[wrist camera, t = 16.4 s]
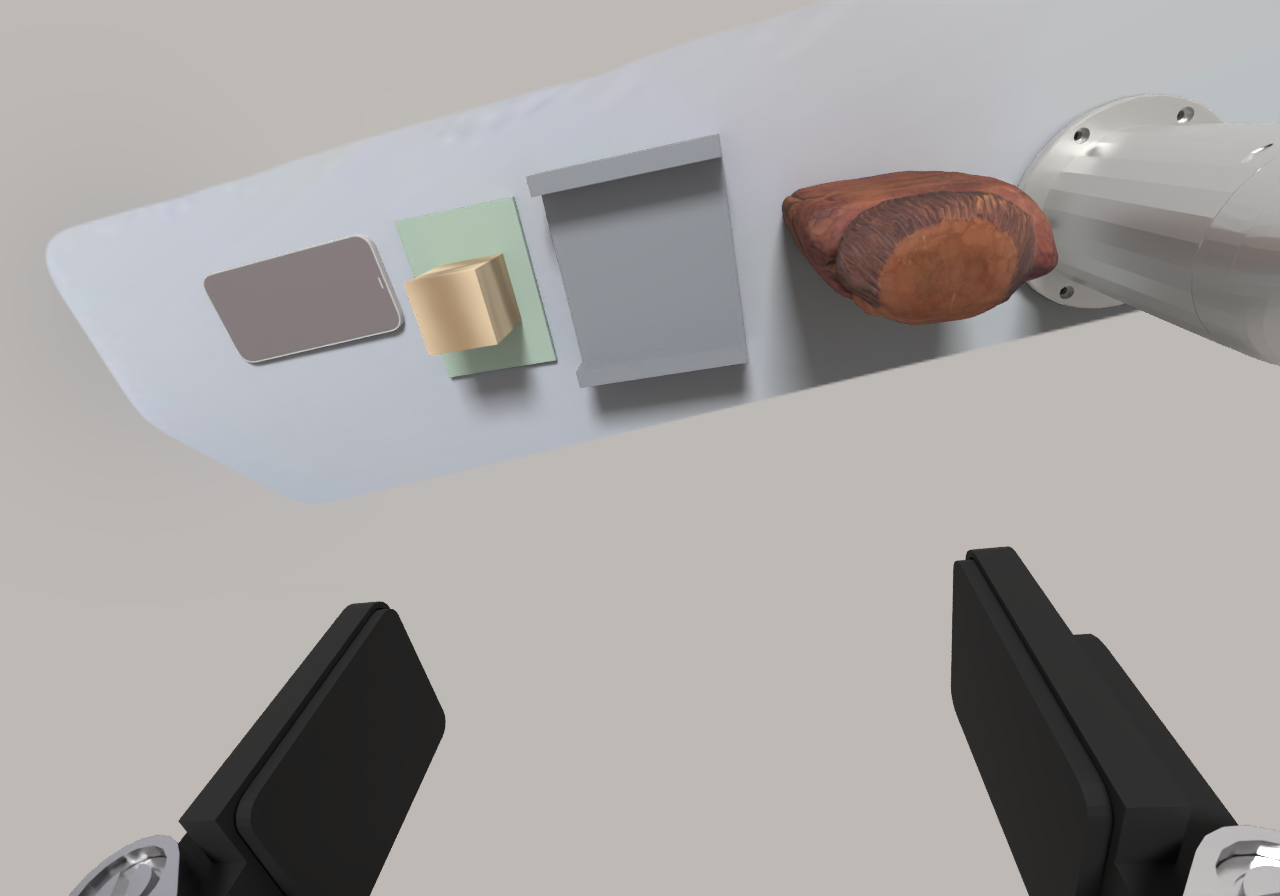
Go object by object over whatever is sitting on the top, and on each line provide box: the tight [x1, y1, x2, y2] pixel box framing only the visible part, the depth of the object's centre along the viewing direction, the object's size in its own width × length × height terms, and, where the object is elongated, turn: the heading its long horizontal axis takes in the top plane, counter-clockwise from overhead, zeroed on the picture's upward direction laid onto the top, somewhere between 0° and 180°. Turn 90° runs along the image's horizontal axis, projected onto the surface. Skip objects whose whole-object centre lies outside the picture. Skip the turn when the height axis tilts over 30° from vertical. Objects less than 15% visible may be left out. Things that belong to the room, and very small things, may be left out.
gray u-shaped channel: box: [526, 134, 748, 388], centre depth 43 cm, size 12×14×4 cm
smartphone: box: [203, 234, 404, 363], centre depth 49 cm, size 7×1×15 cm
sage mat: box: [395, 197, 557, 377], centre depth 47 cm, size 9×12×1 cm
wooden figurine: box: [782, 171, 1058, 325], centre depth 34 cm, size 12×6×18 cm, turn 97°
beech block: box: [404, 253, 522, 356], centre depth 44 cm, size 5×5×6 cm
